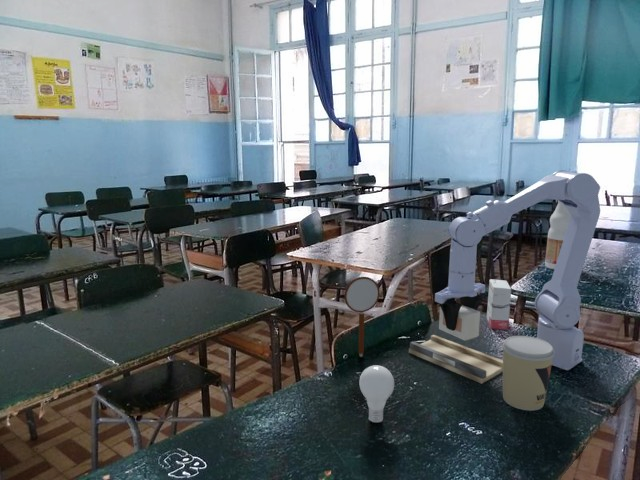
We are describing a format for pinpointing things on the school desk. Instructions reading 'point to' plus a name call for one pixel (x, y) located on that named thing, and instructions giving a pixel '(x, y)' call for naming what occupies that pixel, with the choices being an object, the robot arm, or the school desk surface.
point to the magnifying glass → (361, 301)
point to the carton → (463, 323)
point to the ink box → (498, 304)
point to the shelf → (458, 358)
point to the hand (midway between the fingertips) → (458, 326)
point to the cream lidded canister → (526, 371)
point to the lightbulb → (376, 390)
